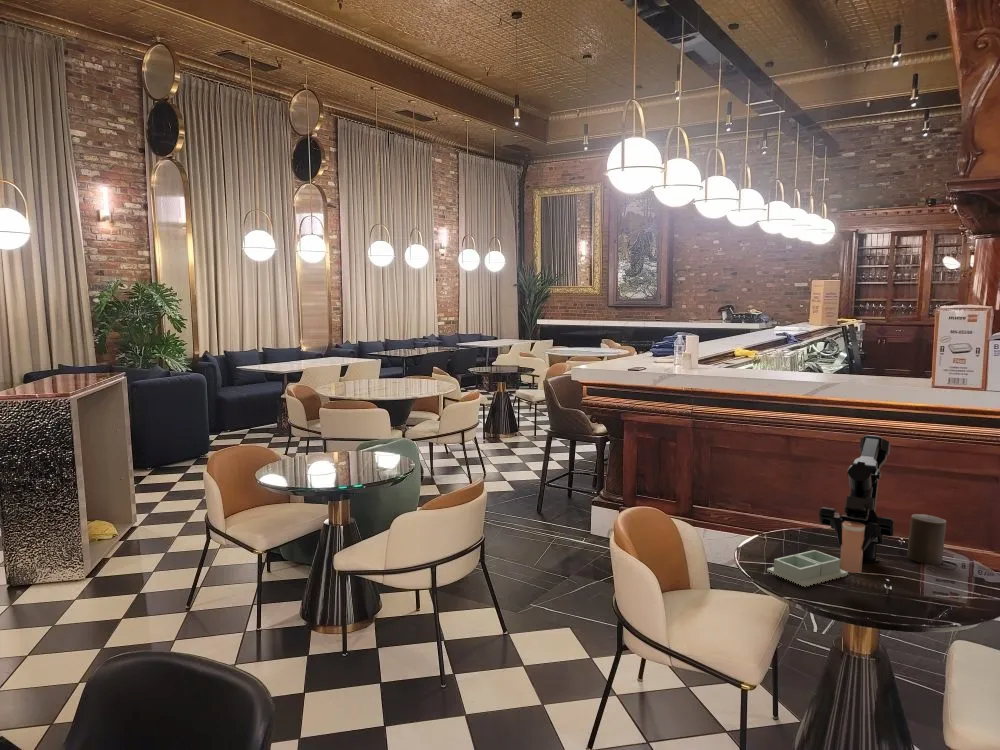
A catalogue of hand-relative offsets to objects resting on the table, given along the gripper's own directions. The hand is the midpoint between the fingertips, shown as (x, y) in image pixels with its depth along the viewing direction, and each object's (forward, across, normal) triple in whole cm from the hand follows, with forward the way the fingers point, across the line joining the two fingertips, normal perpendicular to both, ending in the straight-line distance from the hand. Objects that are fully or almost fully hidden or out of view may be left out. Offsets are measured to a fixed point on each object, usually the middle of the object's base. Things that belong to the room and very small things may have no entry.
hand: (851, 547), depth 192 cm
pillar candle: (-23, +16, +43) cm, 52 cm away
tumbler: (+4, 0, +6) cm, 7 cm away
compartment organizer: (+3, -12, +16) cm, 21 cm away
